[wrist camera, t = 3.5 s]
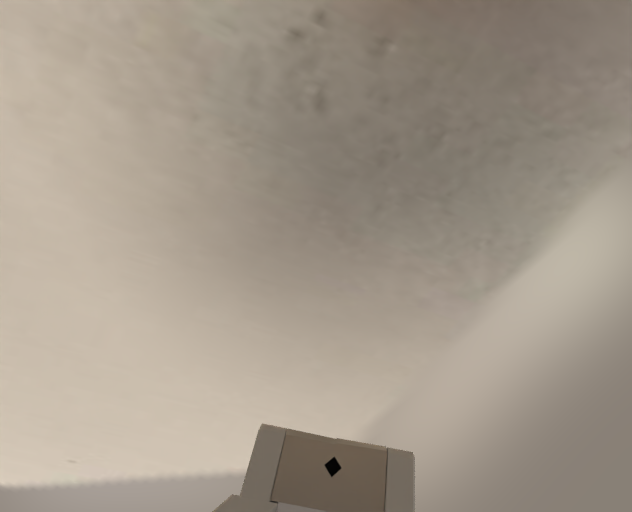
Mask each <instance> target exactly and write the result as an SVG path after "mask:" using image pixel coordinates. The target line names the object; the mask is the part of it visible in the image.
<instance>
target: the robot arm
mask: <svg viewBox="0 0 632 512" xmlns="http://www.w3.org/2000/svg"><path fill="white" fill-rule="evenodd" d="M414 460H415V458H414V455H413V452H409V451H403V450H398V449H393V448H386V447H385V446H379V445H373V444H368V443H362V442H356V441H351V440H345V439H339V438H337V439H334V438H330V437H325V436H320V435H316V434H311V433H306V432H302V431H297V430H292V429H287V428H282V427H277V426H272V425H267V424H262V425H261V427H260V429H259V431H258V434H257V438H256V441H255V445H254V448H253V452H252V455H251V459H250V462H249V466H248V469H247V473H246V476H245V480H244V483H243V487H242V490H241V493H240V496H238V495H231V496H230V497H229V498H228V499H227V500H225V501H224V502H223V503H222V504H221V505H220V506H219V507H217V508H216V509H215V510H214V511H213V512H415V484H414V483H415V476H414V475H415V473H414V472H415V461H414Z"/></svg>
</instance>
